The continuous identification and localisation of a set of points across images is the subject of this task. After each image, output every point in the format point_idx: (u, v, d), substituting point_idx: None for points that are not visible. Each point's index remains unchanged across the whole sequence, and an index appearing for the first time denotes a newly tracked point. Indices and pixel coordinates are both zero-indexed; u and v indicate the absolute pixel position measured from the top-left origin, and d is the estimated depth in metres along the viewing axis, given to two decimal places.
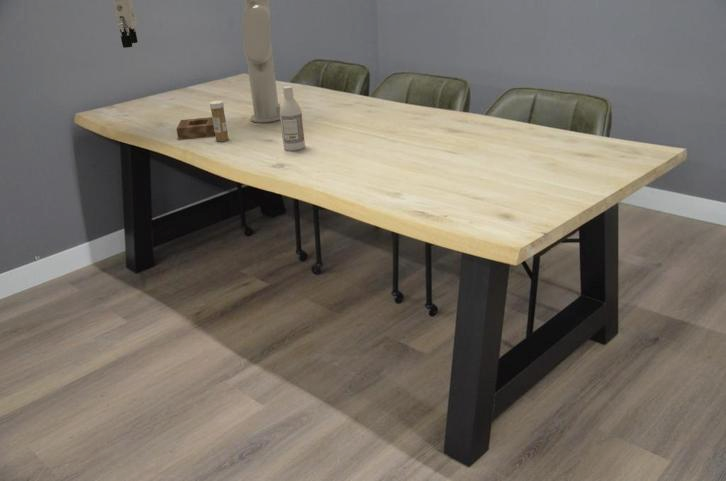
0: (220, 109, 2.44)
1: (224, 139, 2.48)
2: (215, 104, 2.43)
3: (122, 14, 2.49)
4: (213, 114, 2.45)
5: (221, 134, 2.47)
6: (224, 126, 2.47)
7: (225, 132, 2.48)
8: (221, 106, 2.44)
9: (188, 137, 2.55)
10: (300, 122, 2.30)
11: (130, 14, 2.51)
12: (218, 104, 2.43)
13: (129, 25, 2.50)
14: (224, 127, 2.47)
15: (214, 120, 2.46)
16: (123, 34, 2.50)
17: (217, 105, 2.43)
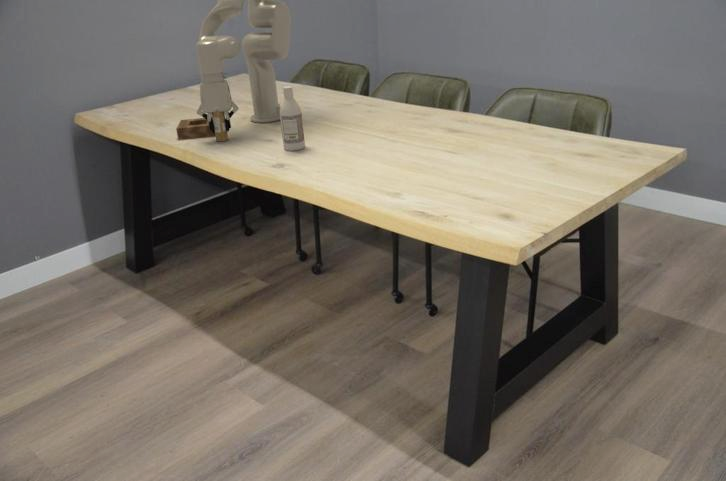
0: None
1: (224, 139, 2.48)
2: None
3: (230, 94, 2.45)
4: (213, 114, 2.45)
5: (221, 134, 2.47)
6: (224, 126, 2.47)
7: (225, 132, 2.48)
8: None
9: (188, 137, 2.55)
10: (300, 122, 2.30)
11: None
12: None
13: None
14: (224, 127, 2.47)
15: (214, 120, 2.46)
16: (230, 117, 2.47)
17: None
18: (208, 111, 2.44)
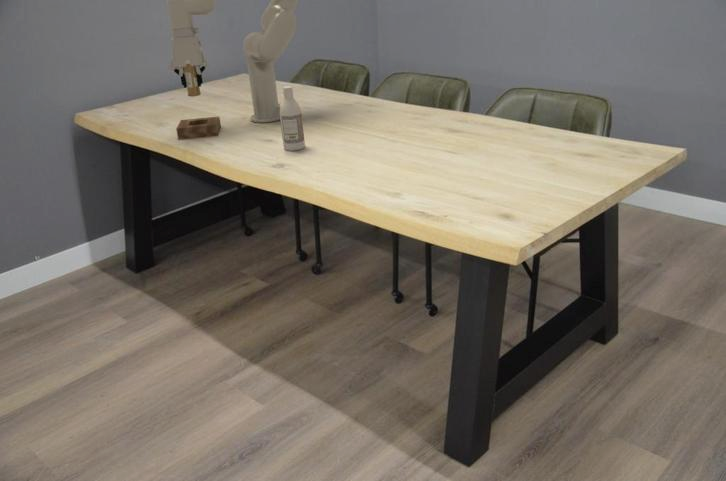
0: None
1: (196, 94, 2.53)
2: None
3: (201, 49, 2.49)
4: (185, 69, 2.49)
5: (192, 88, 2.52)
6: (196, 81, 2.51)
7: (197, 87, 2.52)
8: None
9: (188, 137, 2.55)
10: (300, 122, 2.30)
11: None
12: None
13: None
14: (196, 82, 2.52)
15: (186, 75, 2.50)
16: None
17: None
18: (180, 66, 2.48)
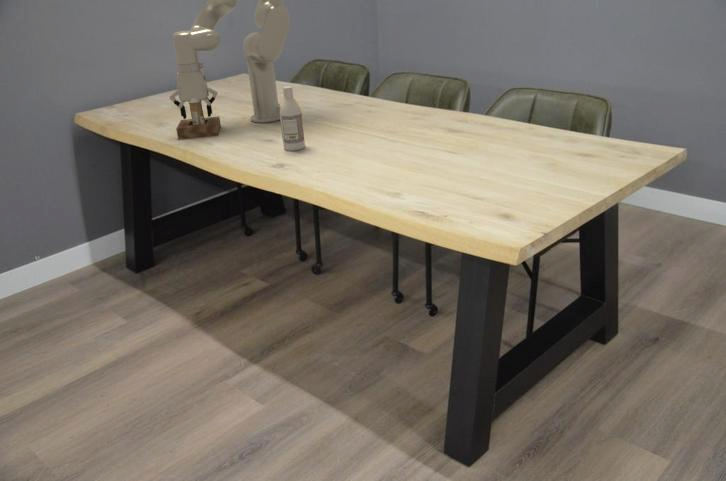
0: (198, 103, 2.55)
1: None
2: (193, 98, 2.53)
3: (206, 83, 2.54)
4: (191, 108, 2.55)
5: None
6: (202, 120, 2.57)
7: None
8: (199, 100, 2.54)
9: (188, 137, 2.55)
10: (300, 122, 2.30)
11: None
12: None
13: (208, 93, 2.57)
14: (202, 121, 2.57)
15: (192, 114, 2.56)
16: None
17: (195, 99, 2.54)
18: (185, 100, 2.53)
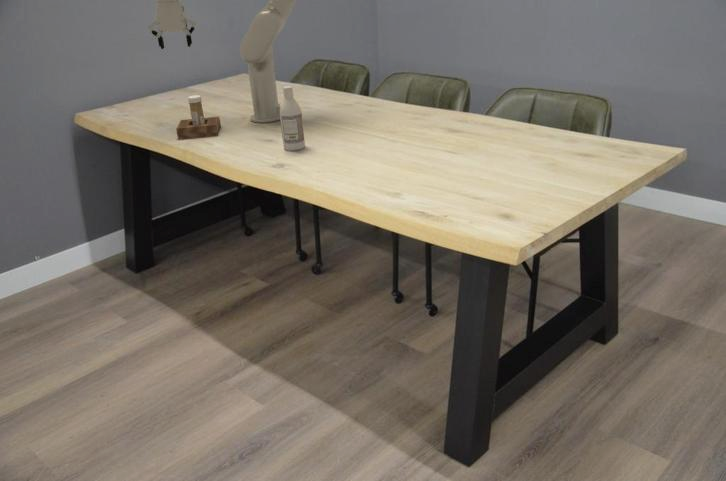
0: (198, 103, 2.55)
1: None
2: (193, 98, 2.53)
3: (184, 14, 2.60)
4: (191, 108, 2.55)
5: None
6: (202, 120, 2.57)
7: None
8: (199, 100, 2.54)
9: (188, 137, 2.55)
10: (300, 122, 2.30)
11: None
12: (196, 98, 2.54)
13: None
14: (202, 121, 2.57)
15: (192, 114, 2.56)
16: None
17: (195, 99, 2.54)
18: (164, 30, 2.60)
